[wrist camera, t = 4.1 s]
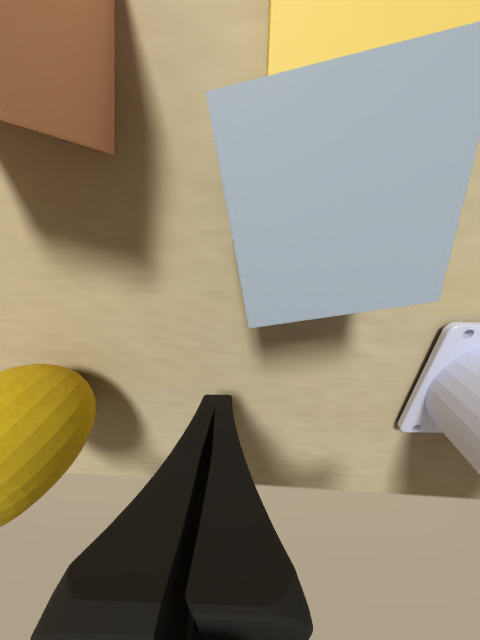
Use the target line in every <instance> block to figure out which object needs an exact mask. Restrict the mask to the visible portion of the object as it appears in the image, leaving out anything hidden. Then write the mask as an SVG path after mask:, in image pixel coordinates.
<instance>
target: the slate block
mask: <svg viewBox="0 0 480 640" xmlns="http://www.w3.org/2000/svg"><path fill="white" fill-rule="evenodd" d="M206 96H207V102H208V107H209V113H210V118H211V124H212V129H213V135H214V140H215V146H216V151H217V156H218V162H219V167H220V173H221V178H222V184H223V189H224V195H225V200H226V206H227V211H228V217H229V222H230V228H231V233H232V239H233V244H234V250H235V255H236V261H237V266H238V272H239V277H240V283H241V288H242V294H243V299H244V305H245V310H246V316H247V321H248V326H249V328H255V327H262V326H269V325H276V324H283V323H290V322H297V321H304V320H311V319H318V318H325V317H332V316H339V315H346V314H353V313H360V312H367V311H374V310H381V309H388V308H395V307H402V306H409V305H416V304H423V303H430V302H437V301H439V299H440V294H441V290H442V286H443V282H444V278H445V274H446V270H447V266H448V262H449V258H450V254H451V250H452V246H453V242H454V238H455V234H456V230H457V226H458V222H459V218H460V214H461V210H462V206H463V202H464V198H465V194H466V190H467V186H468V182H469V178H470V174H471V169H472V165H473V161H474V157H475V153H476V149H477V145H478V141H479V137H480V21H479V22H475V23H471V24H467V25H463V26H459V27H456V28H452V29H448V30H444V31H440V32H436V33H432V34H428V35H424V36H421V37H417V38H413V39H409V40H405V41H401V42H397V43H393V44H389V45H386V46H382V47H378V48H374V49H370V50H366V51H362V52H358V53H354V54H350V55H347V56H343V57H339V58H335V59H331V60H327V61H323V62H319V63H315V64H312V65H308V66H304V67H300V68H296V69H292V70H288V71H284V72H280V73H277V74H273V75H269V76H265V77H261V78H257V79H253V80H249V81H245V82H242V83H238V84H234V85H230V86H226V87H222V88H218V89H214V90H210V91H206Z"/></svg>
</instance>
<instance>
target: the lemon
mask: <svg viewBox="0 0 480 640" xmlns="http://www.w3.org/2000/svg"><path fill="white" fill-rule="evenodd" d="M95 416H96V401H95V396H94V394H93V391H92V389H91V387H90V385H89V384H88V382H87V381H86V380H85V379H83V378H82V377H81V375H80V374H79V373H78V372H76V371H72V370H69V369H67V368H65V367H61V366H58V365H49V364H33V365H24V366H18V367H14V368H11V369H7V370H5V371H2V372H0V527H1V526H2V525H4V524H6V523H8V522H10V521H11V520H13V519H14V518H16V517H17V516H19V515H20V514H22V513H23V512H24V511H25V510H27V509H28V508H29V507H30V506H31V505H33V504H34V503H35V502H36V501H37V500H38V499H40V498H41V497H42V496H43V495H44V494H45V493H46V492H47V491H48V490H49V489H50V488H51V487H52V486H53V485H54V484H55V483H56V482H57V481H58V480H59V479H60V478H61V477H62V475H63V474H64V473H65V472H66V471H67V470H68V468H69V467H70V466H71V465H72V463H73V462H74V461H75V459H76V458H77V456H78V455H79V453H80V452H81V450H82V448H83V446H84V445H85V443H86V441H87V438H88V436H89V434H90V432H91V430H92V427H93V424H94V421H95Z"/></svg>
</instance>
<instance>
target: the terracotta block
mask: <svg viewBox="0 0 480 640" xmlns="http://www.w3.org/2000/svg"><path fill="white" fill-rule="evenodd" d="M0 120H1V121H4V122H8V123H11V124H14V125H17V126H21V127H24V128H27V129H31V130H34V131H37V132H40V133H44V134H47V135H50V136H53V137H57V138H60V139H63V140H67V141H70V142H73V143H76V144H80V145H83V146H86V147H90V148H93V149H96V150H99V151H103V152H106V153H109V154H113V155H115V0H0Z"/></svg>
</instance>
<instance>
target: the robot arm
mask: <svg viewBox="0 0 480 640" xmlns="http://www.w3.org/2000/svg"><path fill="white" fill-rule="evenodd" d="M465 331H466V332H465ZM464 332H465V333H464ZM397 425H398V427H399V428H400V430H401V431H403V432H421V433H444V435H445V436H446V437H447V438H448V439H449V440H450V441H451V443H452V444H453V445H454V446H455V447H456V448H457V449H458V451H459V452H460V453H461V454H462V455H463V456H464V457H465V459H466V460H467V461H468V462H469V463H470V464H471V465H472V467H473V468H474V469H475V470H476V471H477V472H478V474H479V475H480V322H453V323H450V324H448V325H447V326H445V327H444V328H443V330H442V332H441V334H440V336H439V338H438V340H437V342H436V344H435V346H434V348H433V351H432V353H431V355H430V357H429V359H428V361H427V363H426V365H425V367H424V369H423V371H422V373H421V375H420V378H419V380H418V382H417V384H416V386H415V388H414V390H413V392H412V394H411V396H410V398H409V400H408V402H407V405H406V407H405V409H404V411H403V413H402V415H401V417H400V419H399V421H398V424H397ZM312 632H313V624H312V620H311V616H310V611H309V608H308V604H307V602H306V598H305V596H304V593H303V590H302V587H301V585H300V582H299V579H298V576H297V573H296V571H295V568H294V566H293V564H292V562H291V560H290V558H289V557H288V555H287V553H286V551H285V549H284V547H283V545H282V543H281V541H280V539H279V537H278V535H277V533H276V531H275V529H274V527H273V525H272V523H271V521H270V519H269V517H268V514H267V512H266V510H265V508H264V506H263V503H262V501H261V499H260V496H259V494H258V492H257V490H256V487H255V485H254V482H253V480H252V477H251V474H250V472H249V469H248V466H247V464H246V461H245V458H244V455H243V452H242V448H241V445H240V442H239V438H238V434H237V430H236V426H235V422H234V416H233V409H232V396H230V395H205V396H204V397H203V399H202V401H201V403H200V405H199V407H198V409H197V411H196V413H195V415H194V417H193V419H192V420H191V422H190V424H189V425H188V427H187V429H186V430H185V432H184V434H183V435H182V437H181V438H180V440H179V441H178V443H177V444H176V446H175V447H174V449H173V450H172V452H171V453H170V455H169V456H168V457H167V459H166V460H165V461H164V463H163V464H162V465H161V467H160V468H159V469H158V471H157V472H156V473H155V474H154V476H153V477H152V478H151V479H150V481H149V482H148V483H147V484H146V485H145V487H144V488H143V489H142V490H141V492H140V493H139V494H138V495H137V496H136V497H135V498H134V499H133V501H132V502H131V503H130V504H129V505H128V506H127V507H126V508H125V509H124V510H123V511H122V512H121V514H120V515H119V516H118V517H117V518H116V519H115V520H114V521H113V522H112V523H111V524H110V526H108V528H107V529H105V531H104V532H103V533H101V534H100V535H99V537H97V538H96V539H95V540H94V542H92V543H91V544H90V545H89V546H88V547H87V548H86V549H85V550H84V551H83V552H82V553H81V554H80V555H79V556H78V557H77V558H76V559H75V560H74V561H73V562H72V563H71V564H70V565H69V567H68V568H67V570H66V572H65V574H64V575H63V577H62V579H61V580H60V582H59V584H58V585H57V587H56V589H55V591H54V592H53V594H52V596H51V598H50V600H49V602H48V604H47V606H46V608H45V610H44V612H43V614H42V616H41V618H40V620H39V622H38V624H37V626H36V628H35V630H34V632H33V634H32V636H31V640H309V638H310V636H311V634H312Z"/></svg>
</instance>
